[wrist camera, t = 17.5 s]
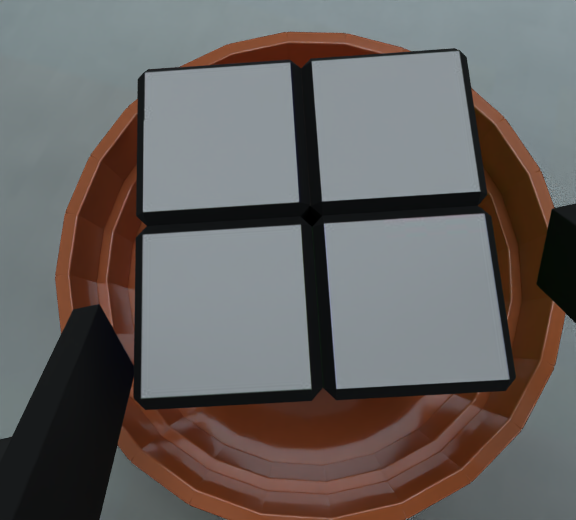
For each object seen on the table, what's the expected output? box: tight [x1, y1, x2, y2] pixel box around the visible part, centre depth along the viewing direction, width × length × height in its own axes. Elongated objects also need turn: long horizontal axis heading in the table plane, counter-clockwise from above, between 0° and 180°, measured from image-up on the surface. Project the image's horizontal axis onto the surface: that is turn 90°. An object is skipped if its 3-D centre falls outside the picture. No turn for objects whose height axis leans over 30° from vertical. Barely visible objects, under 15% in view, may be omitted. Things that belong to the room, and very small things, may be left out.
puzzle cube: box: [133, 48, 516, 410], centre depth 16 cm, size 10×10×10 cm
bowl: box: [55, 32, 566, 520], centre depth 19 cm, size 20×20×6 cm
